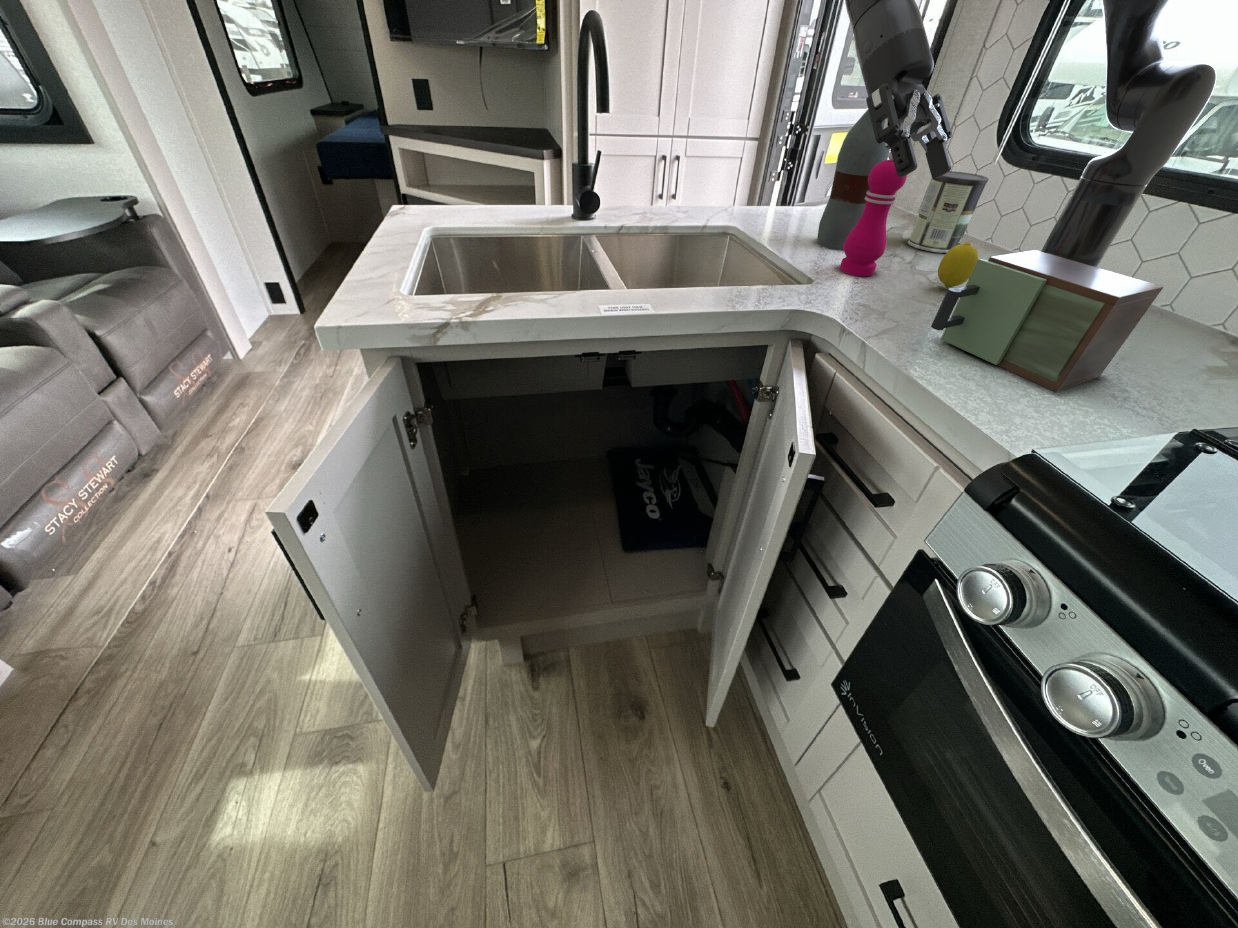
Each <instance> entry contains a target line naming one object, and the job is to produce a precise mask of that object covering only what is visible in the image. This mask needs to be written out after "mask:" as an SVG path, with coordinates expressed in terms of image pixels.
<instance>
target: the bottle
mask: <svg viewBox="0 0 1238 928" xmlns="http://www.w3.org/2000/svg"><path fill="white" fill-rule="evenodd" d="M884 123H885V120H884V121H882V123H881V125H882V129H884ZM889 153H890V150H888V149H887V148H886V146H885V142H882V143H881V144H878V143H877V141H876V139H875V135H874V130H873V126H872V122H871V118H870V114H869V110H868V109H866V111H865V112H864V113H863V114H862V115H861V117H860V118H859V119H858V120H857V121H856V123H855V124H854V125H853V126H852V127H851V128H850V129H849V130H848V132H847V134H846V135H845V137H844V139H843V141H842V144H841V147H840V149H839V152H838V154H837V159H836V165H835V171H834V175H833V181H832V185H831V189H830V194H829V199H828V200H827V203H826V205H825V208H824V211H823V213H822V215H821V218H820V220H819V224H818V230H817V244H818V245H819V246H821V247H824V248H826V249H827V248H828V249H832V250H838V251H844V250H843V246H844V243H845V240H846V238H847V237H848V235H849V233H850V232H851V231H852V229H853V228H854V227H855V225H856V224H857V223H858V221H859V219H860V218H861V216H862V213H863V211H864V208H865V205H866V200H865V197H866V195H867V191H869V190H870V187H869V184H868V177H869V174H870V172H871V170H872V168H873V167H874V166H875V165H876V164H878V163H879V162H881V161H884V160H889Z"/></svg>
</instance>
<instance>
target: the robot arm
mask: <svg viewBox="0 0 1238 928" xmlns="http://www.w3.org/2000/svg"><path fill="white" fill-rule="evenodd" d="M1100 2H1101V7H1102V8H1101V9H1102V15H1103V28H1104V29H1103V30H1104V41H1105V54H1106V71H1105V73H1106V75H1105V82H1106V83H1105V114H1106V119H1107V121H1108V124H1109V125H1110V126H1111V127H1112V128H1114V129H1115V130H1118V131H1122V132H1126V133H1131V134H1130V136H1129V137H1128V138H1127V140H1125V142H1124V144H1123V145H1122V146H1121V147H1120V148H1117V149H1116V150H1115V151H1113V152H1111V153H1108V154H1104V155H1100V156H1096V157H1094V158H1092V159H1091V160H1089V162H1088V163H1087V165H1086V167H1085V168H1084V170H1083V172H1082V174H1081V176H1080V178H1079V179H1078V181H1077V183H1076V185H1075V187H1074V189H1073V191H1072V193H1071V195H1070V196H1069V197H1068V199H1067V202H1066V204H1065V206H1064V208H1063V209H1062V211H1061V213H1060V215H1059V216H1058V219H1057V220H1056V222H1055V224H1054V226H1053V228H1052V229H1051V231H1050V233H1049V235H1048V237H1047V239H1046V241H1045V243H1044V244H1043V246H1042V248H1041V250H1040V251H1041V252H1044V253H1048V254H1051V255H1055V256H1058V257H1062V258H1065V259H1069V260H1072V261H1076V262H1079V263H1083V264H1086V265H1090V266H1093V267H1097V268H1098V266H1099V265H1100V263H1101V261H1102V260H1103V258H1104V256H1105V255H1106V253H1107V252H1108V250H1109V248H1110V247H1111V245H1112V244H1113V242H1114V240H1115V239H1116V237H1117V235H1118V234H1119V232H1120V231H1121V229H1122V227H1123V226H1124V224H1125V222H1126V221H1127V219H1128V218H1129V216H1130V214H1131V213H1132V211H1133V210H1134V208H1135V206H1136V204H1137V203H1138V201H1139V200H1140V198H1141V196H1142V195H1143V193H1144V191H1145V190H1146V188H1147V186H1148V185H1149V184H1150V182H1151V180H1152V179H1153V178H1154V176H1156V174H1157V173H1158V172H1159V171H1160V170H1162V168H1163V167H1164V166H1165V165H1166V164H1167V163H1168V162H1169V160H1170V159H1171V157H1172V156H1173V155H1174V153H1175V152H1176V151H1177V149H1178V147H1179V146H1180V144H1181V143H1182V142H1183V140H1184V138H1185V137H1186V136H1187V134H1188V133H1189V131H1190V130H1191V129H1192V127H1193V126H1194V124H1195V123H1196V122H1197V120H1198V119H1199V117H1200V115H1201V114H1202V112H1203V110H1204V109H1205V107H1206V106H1207V104H1208V102H1209V101H1210V99H1211V96H1212V94H1213V92H1214V90H1215V86H1216V83H1217V71H1216V68H1215V67H1214V66H1213V65H1212V64H1210V63H1207V62H1200V61H1199V62H1198V61H1168V60H1167V58H1166V55H1165V52H1164V43H1163V42H1164V41H1163V40H1164V39H1163V35H1164V34H1163V29H1164V22H1165V18H1166V16H1167V13H1168V11H1169V10H1170V8H1171V6H1172V4H1173V2H1174V0H1100ZM844 3H845V4H844V5H845V10H846V14H847V16H848V19H849V24H850V27H851V31H852V35H853V40H854V46H855V53H856V58H857V62H858V64H859V67H860V71H861V75H862V79H863V83H864V87H865V90H866V94H867V97H866V98H865V101H866V105H867V110H869V114H870V118H871V122H872V126H873V130H874V135H875V139H876V141H877V143H878V144H881V143H882V142H885V146H886V148H887V149H888V150H889V152H891V154H892V158H893V161H894V165H895V169H896V172H897V175H898V176H899V177H905V176H906V175H907V176H908V175H909V174H912V173H913V172H915V171H916V169H918V161H917V158H916V154H915V151H914V147H913V143H912V141H913V142H918V143H919V144H920V146H921V147H922V149H923V150H924V152H925V153H924V155H925V159H926V162H927V164H928V168H929V172H930V176H931V179H932V178H939V177H941V176H943V175H944V174H946V173H948V172H949V171H952V165H951V164H952V163H951V160H950V157H949V154H948V153H949V152H948V149H947V146H946V142H947V141H948V140H950V139H951V138H953V131H952V127H951V125H950V121H949V119H948V115H947V112H946V107H945V105H944V102H943V97H942V95H941V94H940V93H939V92H937V93H936V94H935V95H933V96H931V95H930V93H929V92H928V91H927V90H926V88H925V83H926V82H927V80H928V78H929V77H930V76H931V74H932V72H933V71H934V66H935V62H934V58H933V55H932V50H931V46H930V43H929V40H928V35H927V32H926V29H925V28H926V27H925V25H924V20H923V17H922V13H921V11H920V8H919V7H918V4H917V2H916V0H844ZM884 120H885V123H884V129H882V125H881V123H882V121H884ZM909 137H910V138H909Z"/></svg>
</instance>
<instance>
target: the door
mask: <svg viewBox="0 0 1238 928" xmlns="http://www.w3.org/2000/svg"><path fill="white" fill-rule="evenodd" d="M1046 281H1047V279H1044V278H1040V277H1037V276H1034V275H1031V274H1028V273H1025V272H1022V271H1019V270H1015V269H1012V268H1009V267H1006V266H1003V265H1000V264H997V263H994V262H991V261H988V260H987V259H984V258H978V261H977V263H976V265H975V267H974V269H973V271H972V273H971V276H970V278H969V279H968V280H967V281H966V284H965V285H964V286H958V287H952V288H948V289H947V290H946V292H945V294H944V297H943V299H942V301H941V303H940V306H939V307H938V309H937V312H936V314H935V316H934V319H933V321H932V323H931V324H930V328H931V329H933V330H936V331H943V333H942V335H941V337H940V341H943V342H946V343H948V344H950V345H952V346H954V347H956V348H959V349H960V350H963V351H965V352H967V353H969V354H972V355H973V356H976V357H978V358H980V359H982V360H984V361H986V362H988V363H991V364H992V365H995V366H998V364H1000V362H1001V360H1002V359H1003V357H1004V355H1005V353H1006V352H1007V350H1008V348H1009V346H1010V345H1011V343H1012V341H1013V339H1014V337H1015V336H1016V334H1017V332H1018V330H1019V329H1020V327H1021V325H1022V323H1023V322H1024V320H1025V318H1026V316H1027V315H1028V313H1029V311H1030V309H1031V307H1032V306H1033V304H1034V302H1035V300H1036V299H1037V297H1038V295H1039V293H1040V292H1041V290H1042V288H1043V286H1044V285H1045V283H1046Z"/></svg>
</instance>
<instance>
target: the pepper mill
mask: <svg viewBox="0 0 1238 928" xmlns="http://www.w3.org/2000/svg"><path fill="white" fill-rule="evenodd" d="M907 179H908V175H906V176H905V177H899V176H898V175H897V172H896V169H895V165H894V161H893V158H892V154H891V151H889V155H888V159H887V160H884V161H881V162H879V163H878V164H876V165H875V166H874V167H873V168H872V170H871V172H870V174H869V177H868V184H869V187H870V190H869V191H867V195H866V197H865V200H866V205H865V208H864V211H863V213H862V216H861V218H860V219H859V221H858V223H857V224H856V225H855V227H854V228H853V229H852V231H851V232H850V233H849V235H848V237H847V238H846V240H845V243H844V246H843V250H842V251H843V252H844V253H843V254H844V255H845V257H843V258H842V259H841V262H840V264H839V270H840V271H841V272H843V273H844V274H847V275H850V276H855V277H871V276H873V275H874V274H875V272H876V268H877V262H876V261H877V260H879V259H880V258H881V257H882V256H883V255H884V254H885V251H886V247H887V240H888V239H887V221H888V220H887V219H888V215H889V212H890V210H891V207H892V205H894V204H895V203H896V198H897V197H898V194H897V192H898V191H899V190H900V189H901V188H902V187H904V185H905V183H906V181H907Z"/></svg>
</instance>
